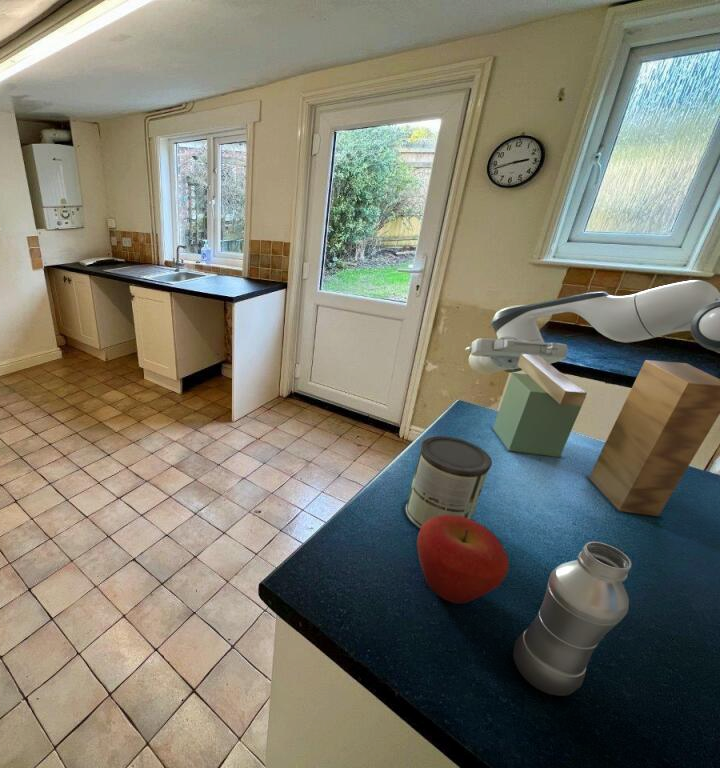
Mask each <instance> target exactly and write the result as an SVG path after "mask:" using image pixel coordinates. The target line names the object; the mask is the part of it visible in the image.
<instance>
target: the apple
mask: <svg viewBox="0 0 720 768" xmlns="http://www.w3.org/2000/svg"><path fill="white" fill-rule="evenodd" d="M417 535H418V536H417V541H416V548H417V554H418V555H417V556H418V561H419V563H420V566H421V570H422V573H423V577H424V579H425V582H426V584H427V586H428V587H429V588H430V589H431V590H432V591H433V593H435V594H436V595H437V596H439V597H440V598H441V599H443V600H444V601H447V602H449V603H452V604H466V603H468V602H471V601H473V600H475V599H479V598H480V597H483V596H486V594H488V593H490V592H492V591H493V590H495V589H496V588H497V587H500V585H501V584H502V582H503V581H504V580H505V579H506V577H507V574H508V572H509V568H510V563H509V557H508V553H507V552H506V551H505V549H504V547H503V545H502V543H501V542H500V540H499V539H498V537H497V536H496V535H494V533H493V532H491V530H489V529H488V528H487V527H486V526H484V525H482V524H481V523H478V522H477V521H476V520H475V521H474V520H473V519H471V520H470V519H467V518H464V517H462V516H456V515H441V516H438V517H434V518H431V519H429V520H428V521H426V522H425V523H424V524H423V525H422V526H421V529H420V528H419V532H418V534H417Z"/></svg>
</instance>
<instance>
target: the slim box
mask: <svg viewBox="0 0 720 768" xmlns="http://www.w3.org/2000/svg"><path fill="white" fill-rule="evenodd" d="M517 365H518V366H519V367H520V368H521V369H522V372H524V374H527V375H529V376H530V377H531V378H532V379H533V380H534V381H535V382H536V383H537V384H538V385H539V386H541V387H542V388H543V389H544V390H545V391H546V392H547V393H548V394H549V395H550V396H552V397H553V398H554V399H555V400H556V401H557V402H558V403H559V404H560V405H571V406H582V407H583V405H582V404H584V402H585V400H586V398H587V395H588V393H587V392H586V391H585V390H584V389H583V388H581V387H580V386H579V385H577V384H576V383H575V382H574V381H572V380H571V379H569V378H568V377H567V376H565V374H563V373H562V372H561V371H560V370H558V369H557V368H555V367H554V366H553V365H552V364H549V363H548V362H546V361H545V360H544V359H542V358H541V357H540V356H539V355H531V354H521V355H520V358H519V361H518V364H517ZM585 397H586V398H585ZM584 399H585V400H584ZM583 401H584V402H583Z"/></svg>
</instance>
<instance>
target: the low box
mask: <svg viewBox="0 0 720 768" xmlns="http://www.w3.org/2000/svg"><path fill="white" fill-rule="evenodd" d="M503 394H504V395H503V397H502V400H501V403H500V406H499V409H498V412H497V415H496V418H495V421H494V424H493V427H492V429H493V430H494V432H495V434H496V435H497V436H498V438H499V439H500V440H501V442H502V443H503V446H504V447H506V449H507V450H508V451H509V452H515V453H516V452H517V453H523V454H532V455H539V456H541V455H542V456H549V457H556V458H560V457H561V455H562V453H563V450H564V448H565V446H566V444H567V442H568V439H569V437H570V434H571V432H572V430H573V427H574V425H575V423H576V421H577V418H578V416H579V414H580V411H581V409H582V407H583V404H584V402H585V400H586V398H587V396H586V397H585V399H584V401H583V404H582V406H571V405H560V404H559V403H558V402H557V401H556V400H555V399H554V398H553V397H552V396H550V395H549V394H548V393H547V392H546V391H545V390H544V389H543V388H542V387H541V386H539V385H538V384H537V383H536V382H535V381H534V380H533V379H532V378H531V377H530V376H529V375H527V374H526V373H517V372H513V373H510V377H509V379H508V382H507V386H506V389H505V392H504V393H503Z"/></svg>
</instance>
